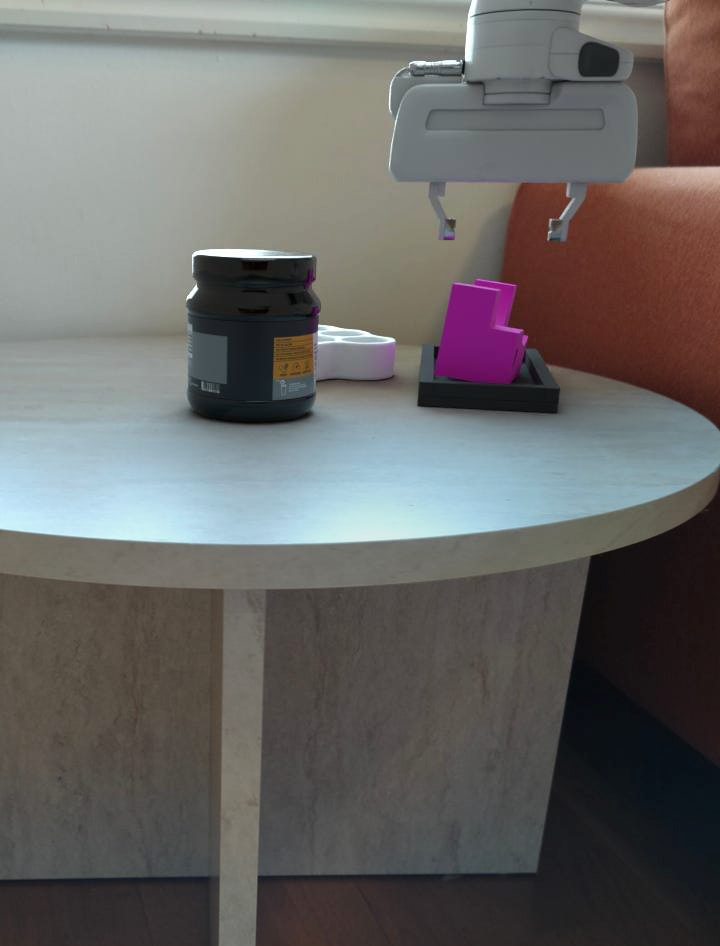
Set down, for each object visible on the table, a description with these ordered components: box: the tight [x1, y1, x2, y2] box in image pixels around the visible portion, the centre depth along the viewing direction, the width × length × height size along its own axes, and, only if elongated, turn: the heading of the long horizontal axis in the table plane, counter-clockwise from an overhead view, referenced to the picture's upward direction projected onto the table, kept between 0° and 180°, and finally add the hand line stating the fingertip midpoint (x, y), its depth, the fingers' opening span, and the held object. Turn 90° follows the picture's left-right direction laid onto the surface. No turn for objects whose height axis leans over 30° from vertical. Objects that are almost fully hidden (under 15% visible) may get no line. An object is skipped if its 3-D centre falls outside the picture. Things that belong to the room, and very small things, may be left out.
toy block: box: [434, 278, 529, 384], centre depth 92 cm, size 15×6×8 cm, turn 160°
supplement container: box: [185, 248, 322, 423], centre depth 80 cm, size 10×10×12 cm
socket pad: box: [416, 343, 561, 414], centre depth 94 cm, size 11×21×2 cm, turn 170°
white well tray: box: [316, 324, 397, 382], centre depth 101 cm, size 3×18×15 cm
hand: (500, 240), depth 89 cm, fingers open, 8 cm apart
